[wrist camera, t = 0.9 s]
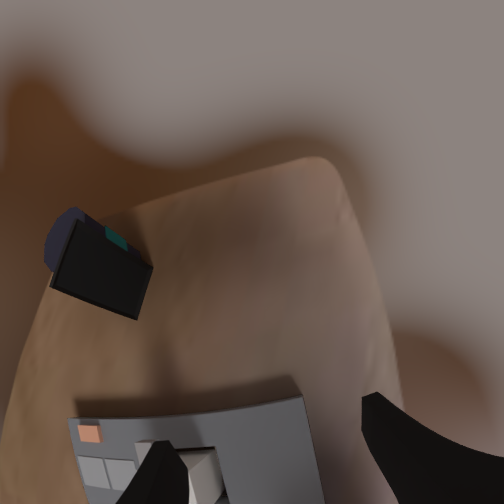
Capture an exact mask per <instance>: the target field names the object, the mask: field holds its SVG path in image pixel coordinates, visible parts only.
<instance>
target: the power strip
mask: <svg viewBox="0 0 504 504" xmlns="http://www.w3.org/2000/svg"><path fill="white" fill-rule="evenodd" d="M67 419H68V424H69V430H70V435H71V439H72V444H73V448H74V453H75V457H76V461H77V465H78V468H79V472H80V476H81V479H82V483H83V486H84V489H85V492H86V496H87V499H88V502H89V504H115V503H116V502H117V501H118V499H119V498H120V496H121V495H122V494H123V492H124V491H125V489H126V488H127V486H128V485H129V483H130V482H131V480H132V478H133V477H134V475H135V473H136V472H137V471H136V470H138V468H139V467H140V464H139V460H138V456H137V452H136V448H135V444H134V443H135V442H138V441H141V440H149V439H159V441H164V440H169V441H170V442H171V444H172V445H173V447H174V449H177V448H196V447H209V446H215V447H216V451H217V455H218V460H219V464H220V468H221V472H222V476H223V480H224V484H225V487H226V491H227V495H228V496H219V498H218V499H217V501H216V502H215V503H214V504H325V500H324V495H323V490H322V485H321V480H320V475H319V470H318V465H317V460H316V455H315V451H314V446H313V441H312V436H311V432H310V427H309V422H308V418H307V413H306V408H305V404H304V399H303V395H299V396H294V397H290V398H285V399H280V400H275V401H270V402H265V403H259V404H254V405H248V406H242V407H236V408H229V409H222V410H214V411H206V412H198V413H188V414H177V415H164V416H147V417H75V418H67Z"/></svg>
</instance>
